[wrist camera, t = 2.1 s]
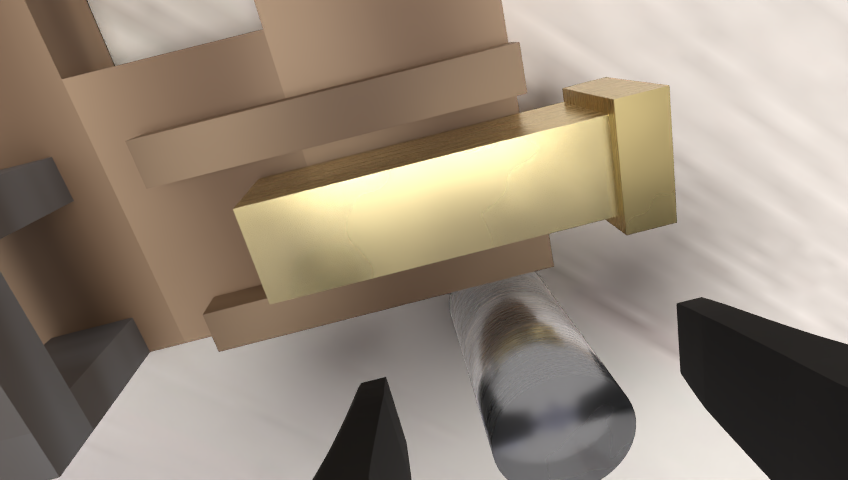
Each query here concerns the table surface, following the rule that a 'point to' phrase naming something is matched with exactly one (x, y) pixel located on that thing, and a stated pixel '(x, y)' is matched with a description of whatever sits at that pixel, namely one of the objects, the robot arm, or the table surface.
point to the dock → (203, 185)
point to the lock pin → (466, 190)
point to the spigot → (539, 384)
